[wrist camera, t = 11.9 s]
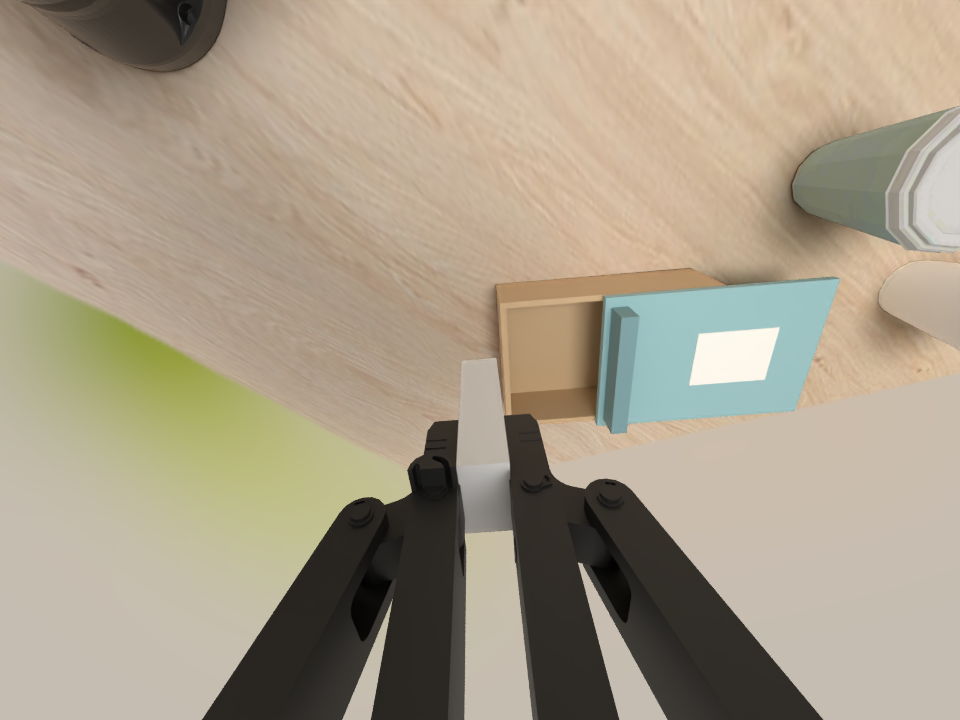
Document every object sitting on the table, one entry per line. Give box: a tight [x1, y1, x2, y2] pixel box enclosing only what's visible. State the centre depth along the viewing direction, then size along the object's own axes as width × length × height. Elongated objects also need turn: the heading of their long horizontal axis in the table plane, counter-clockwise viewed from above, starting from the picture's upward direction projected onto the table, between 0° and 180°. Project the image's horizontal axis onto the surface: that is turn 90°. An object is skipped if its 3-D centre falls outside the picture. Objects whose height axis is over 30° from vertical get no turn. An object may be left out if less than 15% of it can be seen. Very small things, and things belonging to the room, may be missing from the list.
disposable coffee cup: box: [792, 106, 960, 253], centre depth 33 cm, size 11×11×15 cm
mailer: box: [496, 268, 725, 425], centre depth 44 cm, size 22×15×7 cm
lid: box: [595, 277, 840, 434], centre depth 39 cm, size 22×15×4 cm
